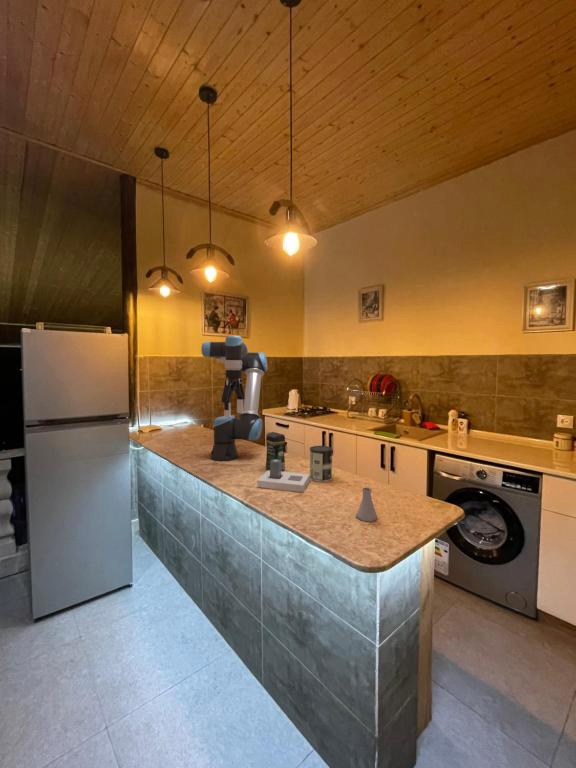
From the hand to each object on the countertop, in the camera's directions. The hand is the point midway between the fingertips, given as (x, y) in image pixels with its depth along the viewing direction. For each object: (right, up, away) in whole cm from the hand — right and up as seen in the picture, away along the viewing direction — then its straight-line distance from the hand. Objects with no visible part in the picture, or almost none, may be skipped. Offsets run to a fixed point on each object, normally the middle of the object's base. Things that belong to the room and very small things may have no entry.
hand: (233, 415), depth 153 cm
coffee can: (+40, -29, -1) cm, 50 cm away
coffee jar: (+19, -28, +11) cm, 36 cm away
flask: (+52, -32, -40) cm, 73 cm away
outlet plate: (+24, -29, -9) cm, 39 cm away
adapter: (+20, -29, -8) cm, 36 cm away
